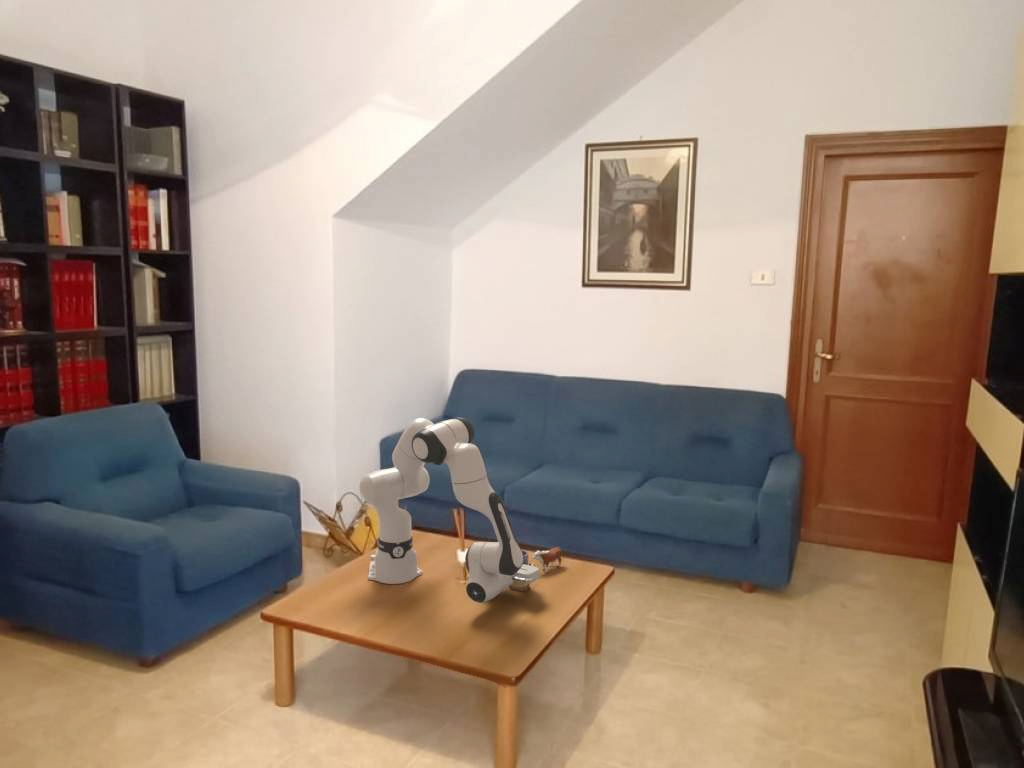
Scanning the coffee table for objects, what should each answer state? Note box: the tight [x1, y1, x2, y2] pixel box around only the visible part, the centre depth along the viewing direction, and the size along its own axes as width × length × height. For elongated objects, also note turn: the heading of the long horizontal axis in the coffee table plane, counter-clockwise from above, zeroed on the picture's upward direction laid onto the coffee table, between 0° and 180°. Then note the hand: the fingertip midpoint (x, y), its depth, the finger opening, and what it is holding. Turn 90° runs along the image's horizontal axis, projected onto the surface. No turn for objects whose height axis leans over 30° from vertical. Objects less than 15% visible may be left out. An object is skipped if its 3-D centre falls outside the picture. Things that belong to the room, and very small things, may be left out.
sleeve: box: [512, 549, 529, 588], centre depth 262 cm, size 6×6×11 cm
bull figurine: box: [532, 546, 562, 574], centre depth 278 cm, size 4×13×8 cm, turn 132°
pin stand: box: [508, 584, 530, 592], centre depth 262 cm, size 7×7×8 cm
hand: (520, 562), depth 262 cm, fingers open, 8 cm apart
